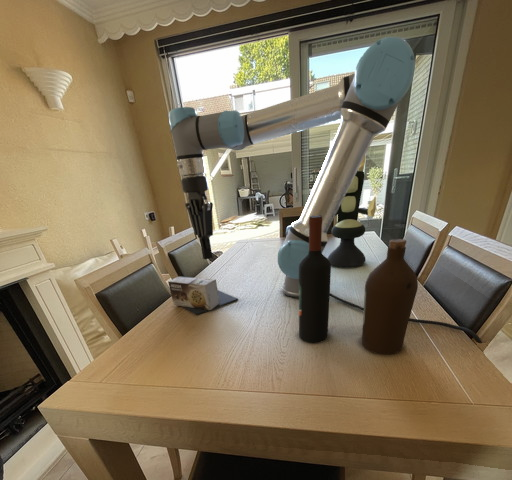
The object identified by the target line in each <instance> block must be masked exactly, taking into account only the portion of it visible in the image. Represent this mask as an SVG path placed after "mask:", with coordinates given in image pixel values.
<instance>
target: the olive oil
mask: <svg viewBox="0 0 512 480" xmlns="http://www.w3.org/2000/svg"><path fill="white" fill-rule="evenodd" d="M406 244H407V240H406V239H403V238H393V239H390V240H389V242H388V247H387V251H386V257H385V259H384V260H383V261H382V262H381V263H379V264H378V265H377V266H376V267H375V268H373V269H372V271H371V272H370V273H369V274H368V275H367V278H366V281H365V284H364V297H363V308H364V311H363V314H362V315H363V316H362V326H361V327H362V328H361V330H362V331H361V346H362V347H363V348H364V349H366V350H367V351H369V352H371V353H373V354H378V355H393V354H397V353H399V352H400V351H402V349H403V346H404V342H405V338H406V333H407V330H408V326H409V323H410V322H409V318H411V314H412V310H413V308H414V304H415V299H416V297H417V292H418V290H419V289H418V288H419V282H418V276H417V275H416V273H415V271H414V270H413V269H412V267H411V266H410V265H409V264H408V263H407V261H406V260H405V255H406V249H407V247H406Z"/></svg>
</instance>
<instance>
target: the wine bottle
mask: <svg viewBox="0 0 512 480" xmlns="http://www.w3.org/2000/svg"><path fill="white" fill-rule="evenodd" d="M321 236H322V216H310V217H309V252H308V255H307V256H306V257H305V258H303V259H302V261H301V262H300V264H299V298H298V337H299V339H300V340H301V341H303V342H305V343H309V344H319V343H323V342H325V341H326V340H327V339H328V336H329V315H330V297H331V296H330V293H331V275H332V274H331V273H332V266H331V263H330V262H329V260H328V259H327V258H328V257H327V256H325V255H324V254H323V252H321Z"/></svg>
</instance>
